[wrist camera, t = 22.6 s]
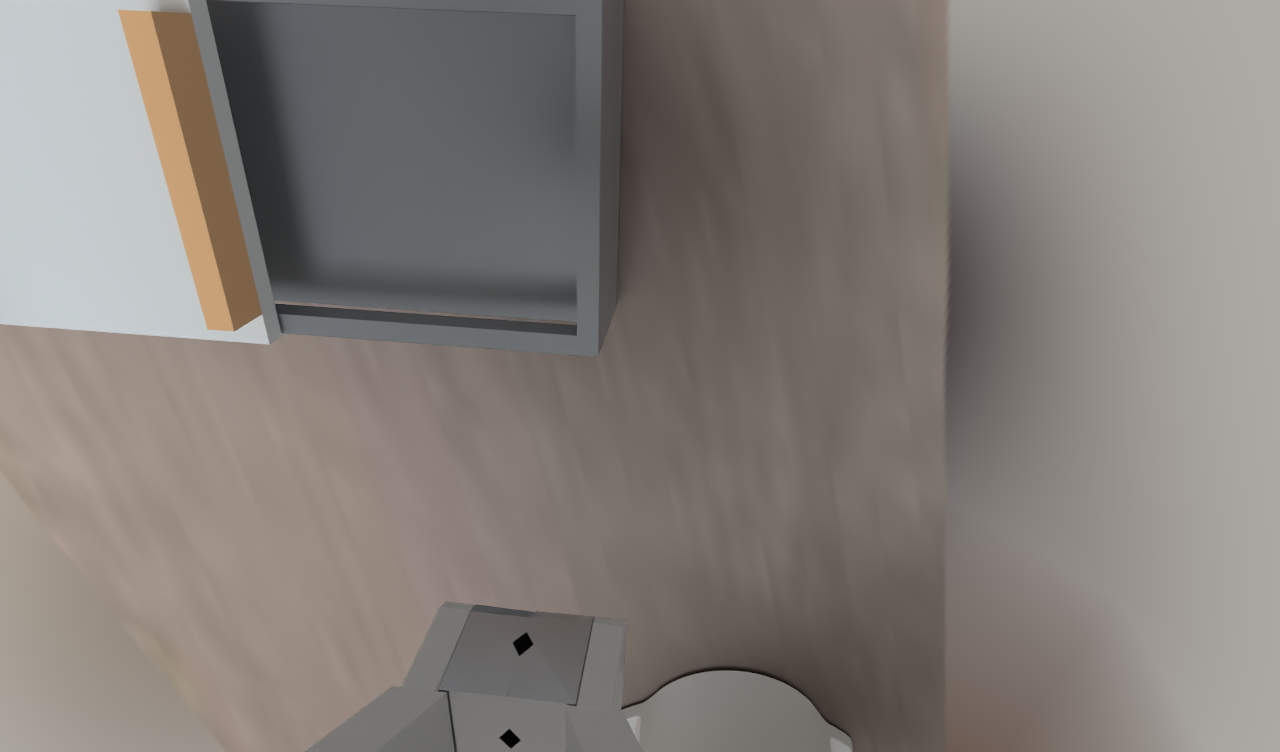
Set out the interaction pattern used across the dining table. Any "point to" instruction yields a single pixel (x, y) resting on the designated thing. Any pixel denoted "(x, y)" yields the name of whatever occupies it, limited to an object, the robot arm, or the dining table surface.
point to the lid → (124, 175)
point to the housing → (433, 164)
